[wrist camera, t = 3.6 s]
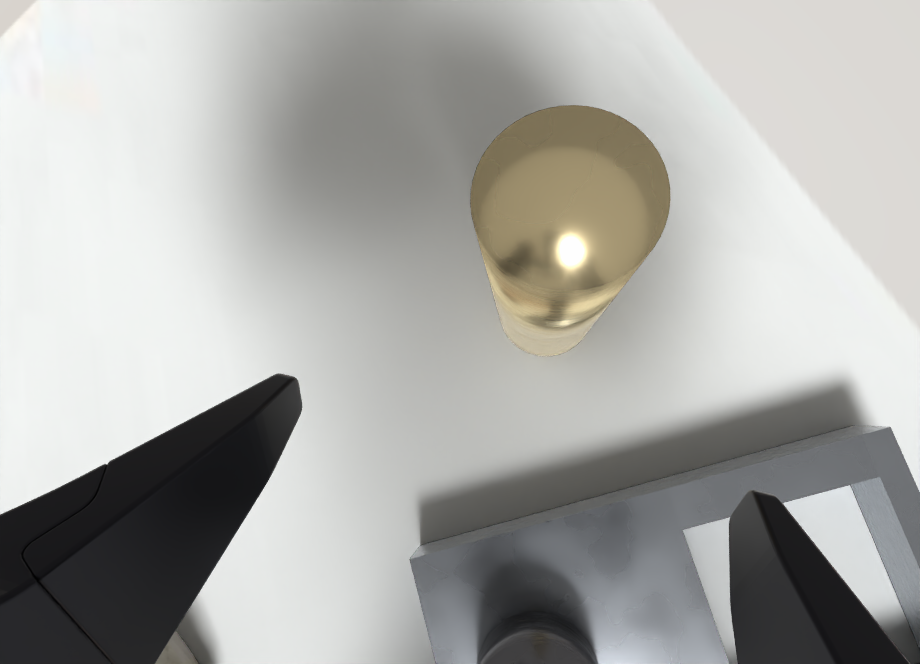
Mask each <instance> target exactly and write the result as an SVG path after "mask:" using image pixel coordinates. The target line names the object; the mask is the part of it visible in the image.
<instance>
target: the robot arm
mask: <svg viewBox="0 0 920 664" xmlns="http://www.w3.org/2000/svg"><path fill="white" fill-rule="evenodd" d="M301 411H302V400H301V394H300V388H299V383H298V380H297V379H296V378H295V377H293V376H289V375H285V374H275V375H273V376H271V377H269V378H267V379H266V380H264V381H262V382H260V383H258V384H256V385H254V386H252V387H250V388H248V389H246V390H245V391H243V392H241V393H239V394H237V395H235V396H233V397H231V398H229V399H227V400H226V401H224V402H222V403H220V404H218V405H216V406H214V407H212V408H210V409H208V410H207V411H205V412H203V413H201V414H199V415H197V416H195V417H193V418H191V419H189V420H187V421H186V422H184V423H182V424H180V425H178V426H176V427H174V428H172V429H170V430H168V431H167V432H165V433H163V434H161V435H159V436H157V437H155V438H153V439H151V440H149V441H148V442H146V443H144V444H142V445H140V446H138V447H136V448H134V449H132V450H130V451H128V452H127V453H125V454H123V455H121V456H119V457H117V458H115V459H113V460H111V461H110V462H109V463H108V465H107V464H104V465H102V466H100V467H98V468H96V469H94V470H92V471H90V472H88V473H86V474H84V475H82V476H80V477H78V478H77V479H75V480H73V481H71V482H69V483H67V484H65V485H63V486H61V487H59V488H57V489H55V490H53V491H51V492H48V493H46V494H44V495H42V496H40V497H38V498H36V499H33V500H31V501H29V502H27V503H25V504H23V505H20V506H18V507H16V508H14V509H12V510H9V511H7V512H5V513H3V514H0V664H155V663H156V661H157V660H158V658H159V656H160V655H161V653H162V652H163V650H164V648H165V647H166V645H167V644H168V642H169V640H170V639H171V637H172V636H173V634H174V632H175V631H176V629H177V627H178V626H179V624H180V623H181V621H182V619H183V618H184V616H185V615H186V613H187V611H188V610H189V608H190V606H191V605H192V603H193V602H194V600H195V598H196V597H197V595H198V594H199V592H200V590H201V589H202V587H203V585H204V584H205V582H206V581H207V579H208V577H209V576H210V574H211V573H212V571H213V569H214V568H215V566H216V564H217V563H218V561H219V560H220V558H221V556H222V555H223V553H224V552H225V550H226V548H227V547H228V545H229V543H230V542H231V540H232V539H233V537H234V535H235V534H236V532H237V531H238V529H239V527H240V526H241V524H242V523H243V521H244V519H245V518H246V516H247V514H248V513H249V511H250V510H251V508H252V506H253V505H254V503H255V502H256V500H257V498H258V497H259V495H260V493H261V492H262V490H263V489H264V487H265V485H266V484H267V482H268V480H269V478H270V477H271V475H272V473H273V471H274V469H275V467H276V465H277V463H278V461H279V459H280V456H281V454H282V452H283V450H284V448H285V446H286V444H287V442H288V440H289V438H290V436H291V433H292V431H293V429H294V427H295V425H296V423H297V421H298V419H299V417H300V414H301ZM729 561H730V603H731V615H732V623H733V631H734V638H735V646H736V653H737V660H738V664H910V663H909V662H908V660H907V659H906V658H905V657H904V655H903V654H902V653H901V652H900V650H899V649H898V648H897V647H896V645H895V644H894V643H893V642H892V640H891V639H890V638H889V637H888V635H887V634H886V633H885V631H884V630H883V629H882V628H881V626H880V625H879V624H878V623H877V621H876V620H875V619H874V618H873V616H872V615H871V614H870V613H869V611H868V610H867V609H866V608H865V606H864V605H863V604H862V603H861V601H860V600H859V599H858V598H857V596H856V595H855V594H854V593H853V591H852V590H851V589H850V588H849V586H848V585H847V584H846V583H845V581H844V580H843V579H842V578H841V576H840V575H839V574H838V573H837V571H836V570H835V569H834V567H833V566H832V565H831V564H830V562H829V561H828V560H827V559H826V557H825V556H824V555H823V554H822V552H821V551H820V550H819V549H818V547H817V546H816V545H815V544H814V542H813V541H812V540H811V539H810V537H809V536H808V535H807V534H806V532H805V531H804V530H803V529H802V527H801V526H800V525H799V524H798V522H797V521H796V520H795V519H794V517H793V516H792V515H791V514H790V512H789V511H788V510H787V508H786V507H785V506H784V505H783V503H782V502H781V501H780V500H779V499H778V498H777V497H776V496H775V495H773V494H770V493H766V492H762V491H758V490H750V491H748V492H747V493H746V494H745V496H744V497H743V498H742V500H741V501H740V503H739V504H738V506H737V507H736V508H735V510H734V511H733V513H732V515H731V517H730V521H729Z"/></svg>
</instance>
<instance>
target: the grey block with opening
mask: <svg viewBox="0 0 920 664" xmlns="http://www.w3.org/2000/svg"><path fill="white" fill-rule="evenodd" d="M848 485H851V487H852V489H853V492H854V494H855V497H856V499H857V501H858V504H859V506H860V508H861V511H862V513H863V516H864V518H865V520H866V523H867V525H868V527H869V530H870V532H871V535H872V537H873V539H874V542H875V544H876V546H877V549H878V551H879V554H880V556H881V558H882V561H883V563H884V565H885V568H886V570H887V573H888V575H889V577H890V580H891V582H892V584H893V587H894V589H895V592H896V594H897V596H898V599H899V601H900V603H901V606H902V608H903V611H904V613H905V615H906V618H907V620H908V623H909V625H910V627H911V630H912V632H913V634H914V637H915V639H916V642H917V644H918V646H919V649H920V492H919V490H918V488H917V486H916V483H915V481H914V479H913V477H912V474H911V472H910V470H909V468H908V465H907V463H906V461H905V459H904V456H903V454H902V452H901V450H900V447H899V445H898V443H897V441H896V438H895V436H894V434H893V432H892V429H891V427H882V426H859V425H854V426H850V427H846V428H843V429H839V430H835V431H832V432H828V433H825V434H821V435H817V436H814V437H810V438H807V439H803V440H799V441H796V442H792V443H788V444H785V445H781V446H778V447H774V448H770V449H767V450H763V451H760V452H756V453H752V454H749V455H745V456H741V457H738V458H734V459H731V460H727V461H723V462H720V463H716V464H713V465H709V466H705V467H702V468H698V469H695V470H691V471H687V472H684V473H680V474H676V475H673V476H669V477H666V478H662V479H658V480H655V481H651V482H648V483H644V484H640V485H637V486H633V487H629V488H626V489H622V490H619V491H615V492H611V493H608V494H604V495H601V496H597V497H593V498H590V499H586V500H582V501H579V502H575V503H572V504H568V505H564V506H561V507H557V508H554V509H550V510H546V511H543V512H539V513H536V514H532V515H528V516H525V517H521V518H517V519H514V520H510V521H507V522H503V523H499V524H496V525H492V526H489V527H485V528H481V529H478V530H474V531H470V532H467V533H463V534H460V535H456V536H452V537H449V538H445V539H442V540H438V541H434V542H431V543H427V544H424V545H420V546H419V548H418V549H417V550H416V552H415V553H414V554H413V555H412V557H411V558H410V563H411V567H412V571H413V575H414V579H415V583H416V587H417V591H418V595H419V599H420V603H421V607H422V611H423V615H424V618H425V622H426V626H427V630H428V634H429V638H430V642H431V646H432V650H433V654H434V658H435V662H436V664H729V661H728V658H727V655H726V652H725V650H724V647H723V644H722V641H721V638H720V635H719V633H718V630H717V627H716V624H715V621H714V618H713V616H712V613H711V610H710V607H709V604H708V601H707V599H706V596H705V593H704V590H703V587H702V585H701V582H700V579H699V576H698V573H697V570H696V568H695V565H694V562H693V559H692V556H691V553H690V551H689V548H688V545H687V542H686V539H685V536H684V534H683V531H682V530H683V529H687V528H691V527H694V526H698V525H702V524H706V523H709V522H713V521H717V520H721V519H724V518H728V517H731V515H732V513H733V511H734V510H735V508H736V507H737V506H738V504H739V503H740V501H741V500H742V498H743V497H744V496H745V494H746V493H747V492H748V491H750V490H758V491H762V492H766V493H770V494H773V495H775V496H776V497H777V498H778V499H779V500H780V501H781V502H782V503H784V502H788V501H792V500H795V499H799V498H803V497H807V496H810V495H814V494H818V493H822V492H825V491H829V490H833V489H836V488H840V487H844V486H848ZM919 664H920V663H919Z"/></svg>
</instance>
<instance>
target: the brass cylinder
mask: <svg viewBox="0 0 920 664" xmlns="http://www.w3.org/2000/svg"><path fill="white" fill-rule="evenodd" d="M470 204H471V215H472V219H473V223H474V227H475V231H476V234H477V238H478V241H479V245H480V249H481V252H482V256H483V260H484V263H485V267H486V270H487V274H488V278H489V281H490V285H491V288H492V292H493V296H494V299H495V303H496V306H497V310H498V314H499V317H500V321H501V324H502V327H503V330H504V332H505V333H506V335H507V336H508V338H509V339H510V340H511V341H512V342H513V344H515V345H516V346H517V347H518V348H520V349H521V350H523V351H525V352H527V353H530V354H533V355H538V356H554V355H559V354H562V353H564V352H567V351H568V350H570V349H572V348H573V347H575V346H576V345H577V344H578V343H579V342H580V341H581V340H582V339H583V337H584V336H585V335H586V334H587V332H588V331H589V330H590V329H591V327H592V326H593V325H594V323H595V322H596V321H597V320H598V318H599V317H600V316H601V315H602V313H603V312H604V311H605V309H606V308H607V307H608V306H609V304H610V303H611V302H612V300H613V299H614V298H615V297H616V295H617V294H618V293H619V292H620V290H621V289H622V288H623V286H624V285H625V284H626V283H627V281H628V280H629V279H630V278H631V276H632V275H633V274H634V272H635V271H636V270H637V269H638V267H639V266H640V265H641V263H642V262H643V261H644V260H645V258H646V257H647V256H648V255H649V253H650V252H651V251H652V249H653V248H654V247H655V245H656V243H657V242H658V240H659V238H660V237H661V234H662V232H663V230H664V227H665V225H666V221H667V218H668V214H669V207H670V185H669V179H668V174H667V171H666V168H665V165H664V162H663V160H662V158H661V156H660V154H659V152H658V151H657V149H656V148H655V146H654V145H653V143H652V142H651V141H650V140H649V139H648V138H647V137H646V135H645V134H644V133H643V132H641V131H640V130H639V129H638V128H637V127H636V126H634V125H633V124H631V123H630V122H628V121H627V120H625V119H624V118H622V117H620V116H618V115H615V114H613V113H611V112H608V111H605V110H602V109H598V108H593V107H588V106H577V105H571V106H558V107H551V108H547V109H544V110H540V111H537V112H534V113H532V114H530V115H527V116H525V117H523V118H521V119H520V120H518V121H516V122H514V123H513V124H512V125H510V126H509V127H508V128H506V129H505V130H504V131H503V132H502V133H501V134H499V135H498V136H497V137H496V138H495V140H494V141H493V142H492V143H491V144H490V145H489V147H488V148H487V150H486V151H485V153H484V154H483V156H482V158H481V160H480V162H479V164H478V166H477V168H476V171H475V174H474V178H473V182H472V187H471V199H470Z"/></svg>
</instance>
